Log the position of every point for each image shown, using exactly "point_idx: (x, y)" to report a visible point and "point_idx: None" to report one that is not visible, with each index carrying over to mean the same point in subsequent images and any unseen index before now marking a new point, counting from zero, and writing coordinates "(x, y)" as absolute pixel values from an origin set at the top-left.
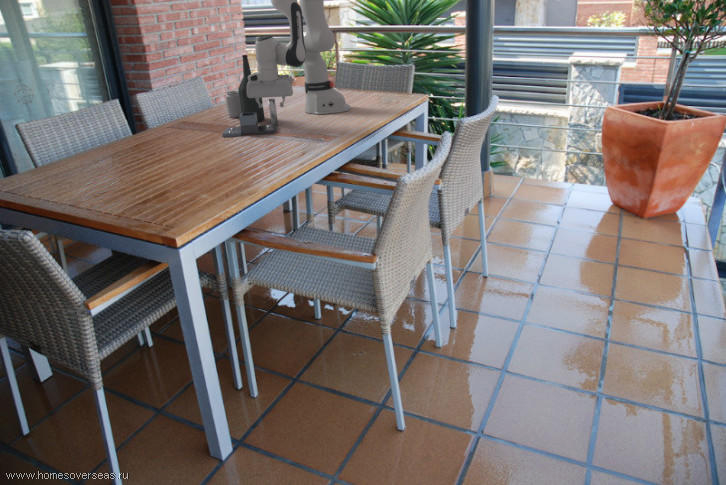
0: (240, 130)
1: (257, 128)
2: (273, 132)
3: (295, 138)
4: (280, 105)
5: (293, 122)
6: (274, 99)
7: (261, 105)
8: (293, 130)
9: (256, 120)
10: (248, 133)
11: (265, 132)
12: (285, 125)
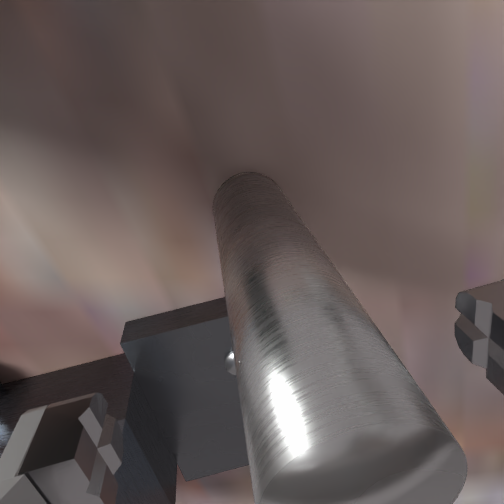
0: None
1: (158, 423)
2: None
3: None
4: (479, 365)
5: (438, 60)
6: (450, 492)
7: (104, 486)
8: (445, 348)
9: (148, 487)
10: None
11: None
12: (361, 196)
